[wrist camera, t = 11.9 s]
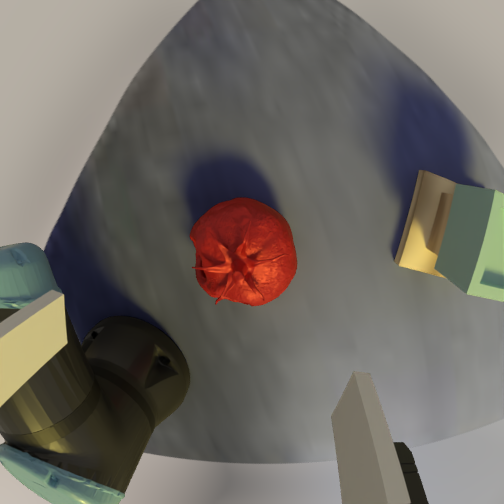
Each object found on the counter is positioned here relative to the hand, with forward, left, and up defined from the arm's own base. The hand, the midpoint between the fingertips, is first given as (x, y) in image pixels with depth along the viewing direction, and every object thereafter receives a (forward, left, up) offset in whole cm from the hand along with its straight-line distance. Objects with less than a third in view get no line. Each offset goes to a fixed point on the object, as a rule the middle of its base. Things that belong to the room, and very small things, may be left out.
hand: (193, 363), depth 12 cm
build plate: (+20, +7, -21) cm, 30 cm away
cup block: (+21, +8, -15) cm, 27 cm away
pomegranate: (0, 0, -21) cm, 21 cm away
